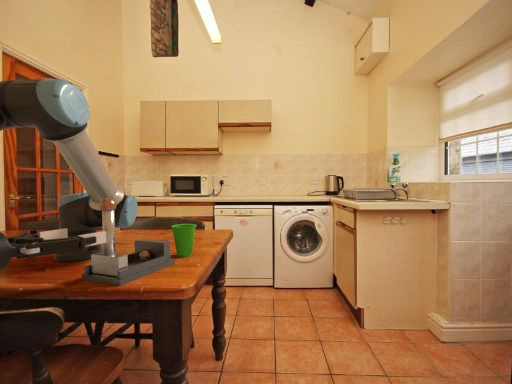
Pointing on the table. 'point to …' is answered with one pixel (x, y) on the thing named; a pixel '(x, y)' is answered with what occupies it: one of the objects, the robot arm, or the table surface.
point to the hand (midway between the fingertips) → (85, 235)
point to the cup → (184, 238)
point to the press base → (136, 263)
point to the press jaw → (108, 244)
